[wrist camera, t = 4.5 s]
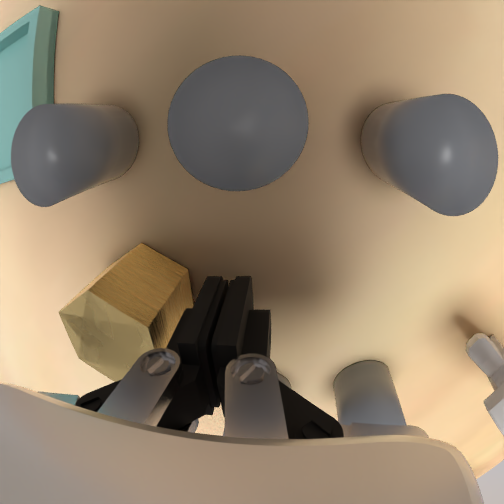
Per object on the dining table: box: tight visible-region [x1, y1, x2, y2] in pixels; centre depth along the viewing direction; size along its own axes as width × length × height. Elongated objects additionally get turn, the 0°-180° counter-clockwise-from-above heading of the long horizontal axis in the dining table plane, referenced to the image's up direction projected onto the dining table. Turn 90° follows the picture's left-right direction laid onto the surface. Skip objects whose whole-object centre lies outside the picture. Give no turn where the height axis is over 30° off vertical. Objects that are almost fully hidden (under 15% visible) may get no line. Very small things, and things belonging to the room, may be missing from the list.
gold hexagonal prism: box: [59, 243, 194, 382], centre depth 11 cm, size 5×4×4 cm
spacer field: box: [11, 56, 498, 436], centre depth 10 cm, size 16×15×4 cm
